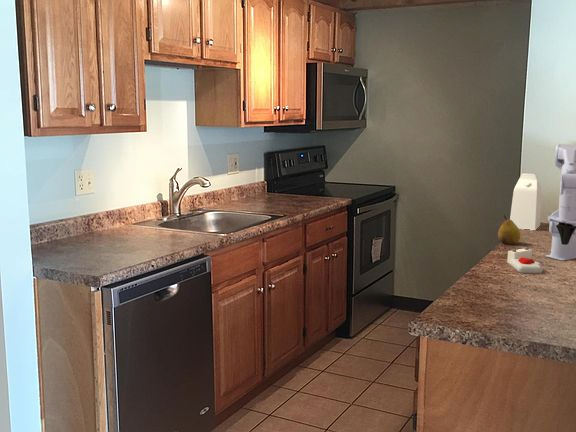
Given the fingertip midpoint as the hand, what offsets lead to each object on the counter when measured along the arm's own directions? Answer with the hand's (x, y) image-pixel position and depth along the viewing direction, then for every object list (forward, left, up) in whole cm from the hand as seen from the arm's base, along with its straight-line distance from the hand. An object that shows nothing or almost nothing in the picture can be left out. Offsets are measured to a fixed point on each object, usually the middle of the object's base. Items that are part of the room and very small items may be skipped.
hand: (564, 244), depth 230 cm
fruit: (-17, -39, -10) cm, 44 cm away
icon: (+11, -7, -10) cm, 16 cm away
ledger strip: (+5, -15, -9) cm, 18 cm away
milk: (-53, -60, -10) cm, 81 cm away
